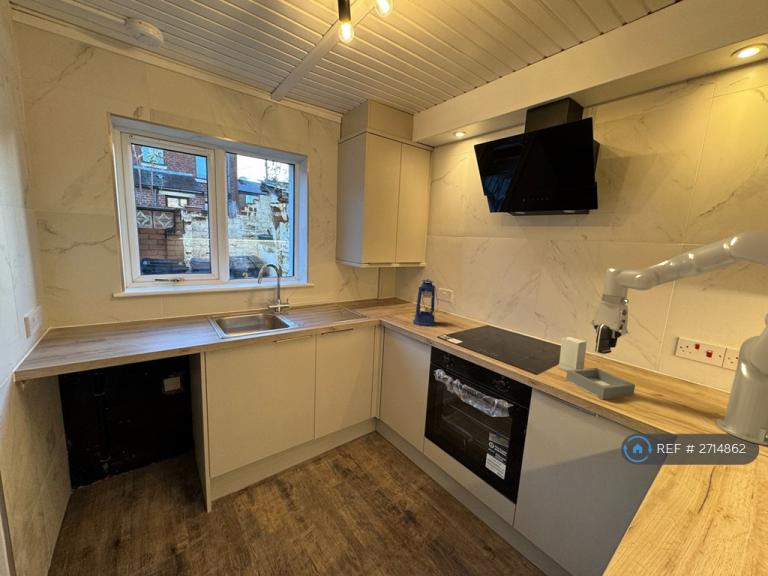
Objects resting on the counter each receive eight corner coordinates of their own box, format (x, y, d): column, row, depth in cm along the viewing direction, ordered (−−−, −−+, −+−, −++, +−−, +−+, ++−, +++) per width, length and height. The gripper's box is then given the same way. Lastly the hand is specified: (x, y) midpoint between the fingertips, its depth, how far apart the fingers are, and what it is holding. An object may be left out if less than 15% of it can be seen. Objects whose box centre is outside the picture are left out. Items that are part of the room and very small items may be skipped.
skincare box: (583, 373, 137) (588, 341, 135) (574, 375, 135) (580, 343, 133) (565, 366, 145) (570, 335, 143) (557, 367, 142) (561, 337, 140)
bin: (633, 395, 119) (635, 384, 118) (602, 399, 114) (604, 388, 113) (594, 377, 134) (596, 367, 133) (565, 380, 129) (567, 370, 128)
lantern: (424, 319, 218) (427, 277, 214) (441, 324, 207) (445, 280, 202) (407, 322, 207) (410, 278, 202) (423, 327, 196) (427, 281, 191)
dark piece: (604, 355, 118) (609, 326, 117) (594, 352, 122) (598, 324, 120) (614, 353, 121) (619, 325, 120) (604, 350, 125) (609, 323, 123)
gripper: (644, 304, 111) (634, 352, 114) (600, 295, 127) (592, 337, 130) (629, 304, 109) (619, 353, 112) (586, 295, 125) (579, 338, 128)
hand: (605, 344), depth 121 cm, fingers closed on dark piece, 4 cm apart
